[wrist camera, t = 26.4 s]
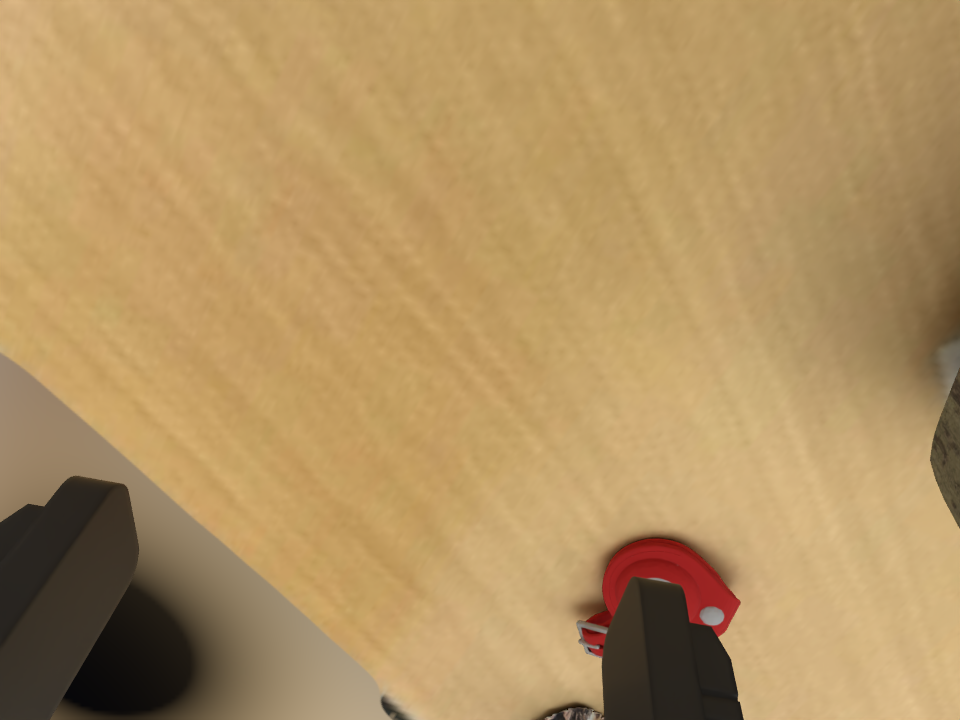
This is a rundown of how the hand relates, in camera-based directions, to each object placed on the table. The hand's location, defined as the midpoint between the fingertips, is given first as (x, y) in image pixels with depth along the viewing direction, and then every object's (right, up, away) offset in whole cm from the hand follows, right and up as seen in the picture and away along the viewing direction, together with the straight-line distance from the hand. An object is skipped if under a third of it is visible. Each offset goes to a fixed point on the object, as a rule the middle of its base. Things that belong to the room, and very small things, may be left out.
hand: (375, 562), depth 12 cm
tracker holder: (+14, -13, +43) cm, 47 cm away
